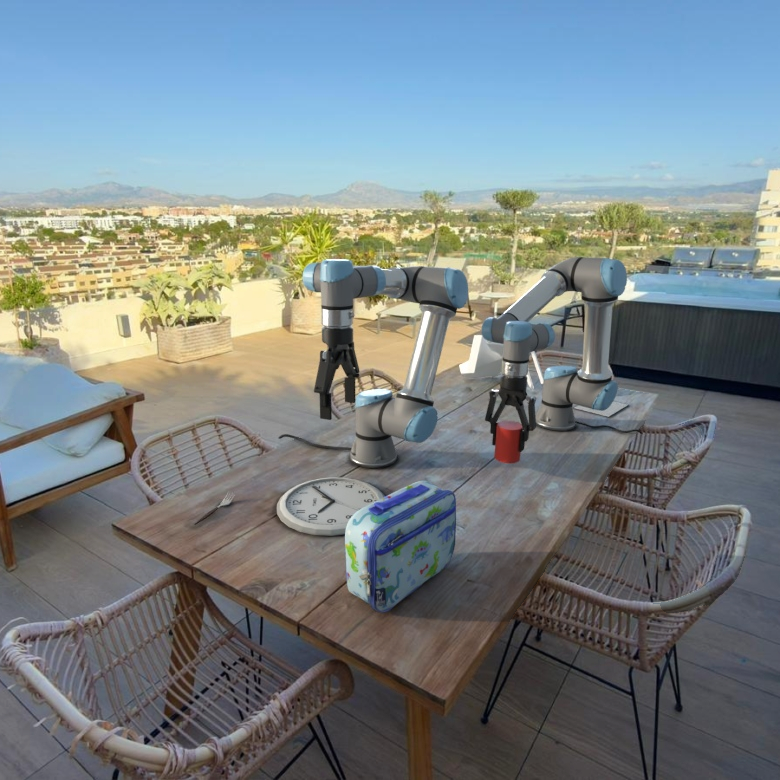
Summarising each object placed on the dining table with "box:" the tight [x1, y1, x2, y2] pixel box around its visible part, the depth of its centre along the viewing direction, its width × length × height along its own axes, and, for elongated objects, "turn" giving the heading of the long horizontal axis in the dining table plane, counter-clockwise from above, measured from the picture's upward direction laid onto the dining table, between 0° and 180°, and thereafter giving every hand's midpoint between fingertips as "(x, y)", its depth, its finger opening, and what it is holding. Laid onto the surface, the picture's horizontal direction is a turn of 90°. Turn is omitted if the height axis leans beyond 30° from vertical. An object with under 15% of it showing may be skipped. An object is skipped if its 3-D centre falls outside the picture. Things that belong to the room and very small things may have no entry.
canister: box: [493, 420, 523, 464], centre depth 158 cm, size 8×8×11 cm
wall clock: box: [276, 476, 386, 537], centre depth 142 cm, size 30×2×30 cm
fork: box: [193, 490, 237, 526], centre depth 138 cm, size 3×16×2 cm, turn 160°
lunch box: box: [344, 480, 457, 614], centre depth 109 cm, size 26×11×21 cm, turn 135°
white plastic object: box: [458, 334, 544, 393], centre depth 255 cm, size 37×45×31 cm
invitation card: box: [573, 400, 629, 418], centre depth 226 cm, size 21×1×15 cm
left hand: (338, 410), depth 131 cm, fingers open, 13 cm apart
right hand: (507, 446), depth 159 cm, fingers closed on canister, 8 cm apart
